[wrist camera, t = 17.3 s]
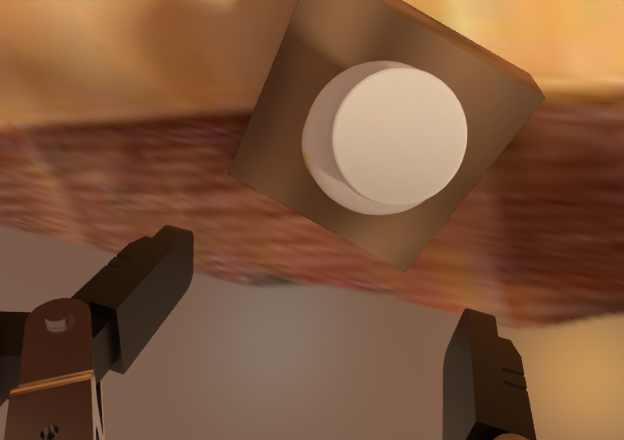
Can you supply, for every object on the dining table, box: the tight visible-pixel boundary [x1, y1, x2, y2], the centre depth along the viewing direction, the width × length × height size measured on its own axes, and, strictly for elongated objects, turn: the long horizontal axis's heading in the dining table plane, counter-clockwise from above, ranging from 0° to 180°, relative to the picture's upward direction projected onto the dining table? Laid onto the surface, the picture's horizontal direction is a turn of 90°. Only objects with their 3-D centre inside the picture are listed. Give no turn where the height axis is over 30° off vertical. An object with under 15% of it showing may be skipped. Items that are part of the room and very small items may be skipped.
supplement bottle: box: [302, 61, 467, 215], centre depth 18 cm, size 5×5×10 cm
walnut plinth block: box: [228, 0, 545, 272], centre depth 26 cm, size 12×12×5 cm
